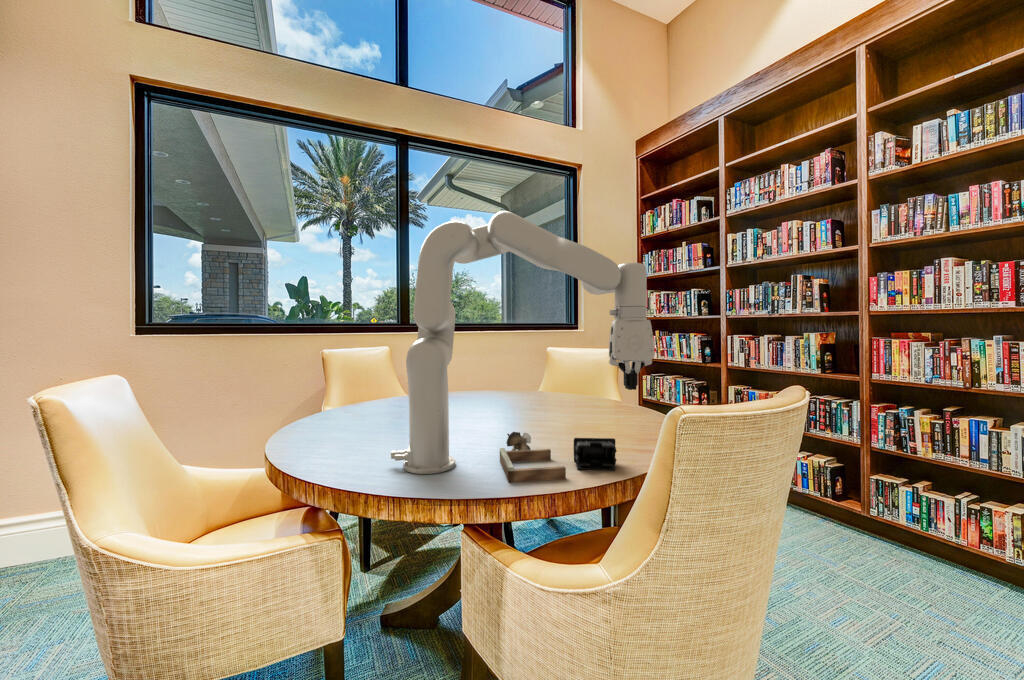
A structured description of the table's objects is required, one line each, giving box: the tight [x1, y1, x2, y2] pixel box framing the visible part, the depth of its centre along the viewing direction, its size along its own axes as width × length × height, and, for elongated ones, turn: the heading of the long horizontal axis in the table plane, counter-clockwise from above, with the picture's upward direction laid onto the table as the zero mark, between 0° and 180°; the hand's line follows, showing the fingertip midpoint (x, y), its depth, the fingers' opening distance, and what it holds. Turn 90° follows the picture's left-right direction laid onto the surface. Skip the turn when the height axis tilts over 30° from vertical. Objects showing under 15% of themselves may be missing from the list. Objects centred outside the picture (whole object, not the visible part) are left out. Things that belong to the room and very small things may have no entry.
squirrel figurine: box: [506, 431, 532, 451], centre depth 118 cm, size 8×7×9 cm
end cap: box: [573, 437, 618, 472], centre depth 108 cm, size 10×7×7 cm
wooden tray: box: [499, 447, 567, 483], centre depth 106 cm, size 13×15×3 cm
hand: (630, 388), depth 109 cm, fingers closed
